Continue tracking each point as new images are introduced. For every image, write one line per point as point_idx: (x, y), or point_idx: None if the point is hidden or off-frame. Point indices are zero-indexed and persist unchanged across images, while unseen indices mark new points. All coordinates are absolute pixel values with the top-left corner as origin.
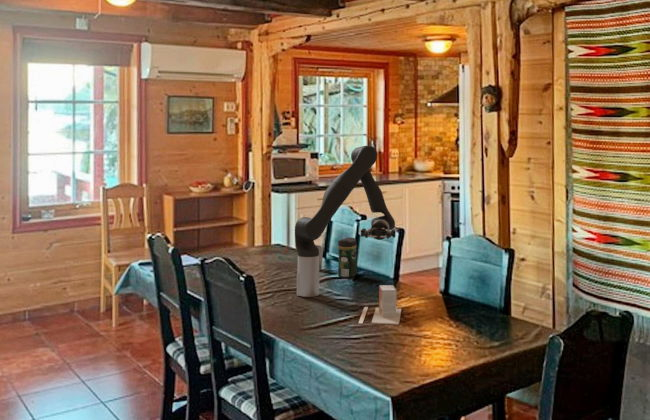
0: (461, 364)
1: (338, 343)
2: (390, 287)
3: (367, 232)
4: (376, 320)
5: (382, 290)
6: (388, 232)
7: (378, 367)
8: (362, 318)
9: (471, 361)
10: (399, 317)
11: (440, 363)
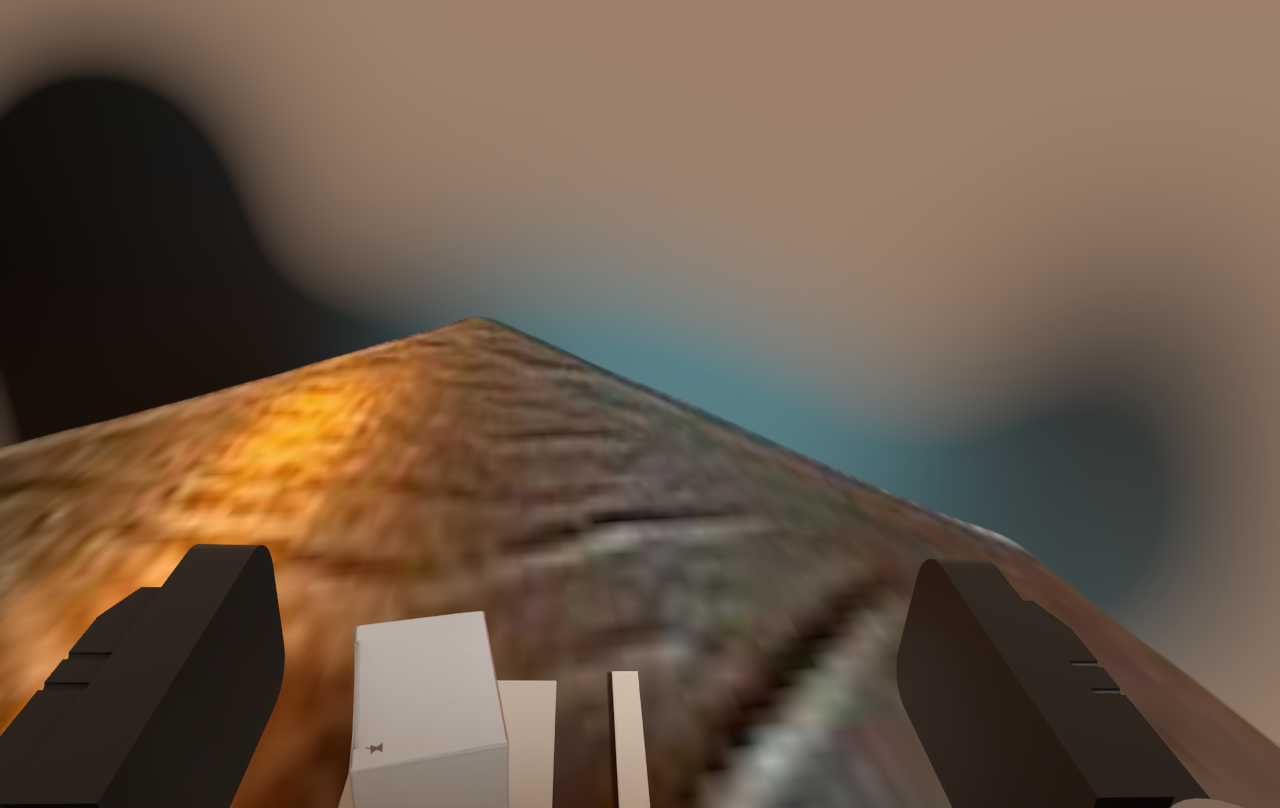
0: (242, 397)
1: (667, 480)
2: (397, 685)
3: (956, 588)
4: (525, 713)
5: (481, 611)
6: (123, 658)
7: (508, 380)
8: (627, 752)
9: (194, 410)
10: (345, 795)
11: (310, 399)
